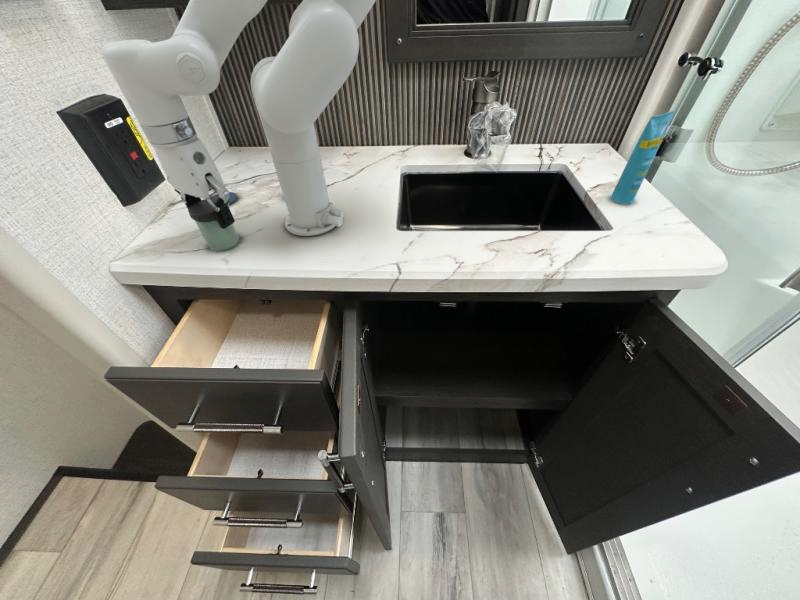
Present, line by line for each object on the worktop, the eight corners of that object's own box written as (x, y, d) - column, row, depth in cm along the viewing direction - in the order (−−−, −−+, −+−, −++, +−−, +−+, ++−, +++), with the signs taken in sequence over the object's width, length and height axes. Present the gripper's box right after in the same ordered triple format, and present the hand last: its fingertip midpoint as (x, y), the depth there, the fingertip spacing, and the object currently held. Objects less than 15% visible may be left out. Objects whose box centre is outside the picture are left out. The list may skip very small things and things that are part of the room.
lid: (200, 204, 70) (197, 198, 69) (232, 204, 70) (230, 197, 69) (184, 222, 65) (181, 215, 64) (219, 221, 65) (215, 214, 64)
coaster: (244, 197, 88) (243, 194, 88) (221, 210, 83) (220, 208, 83) (223, 191, 91) (223, 189, 90) (201, 204, 86) (200, 202, 86)
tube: (622, 208, 78) (665, 119, 64) (603, 200, 81) (641, 113, 67) (639, 199, 80) (685, 111, 67) (620, 191, 83) (660, 106, 70)
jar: (245, 238, 74) (231, 204, 68) (223, 254, 70) (205, 219, 64) (225, 232, 76) (209, 199, 70) (202, 246, 72) (183, 213, 66)
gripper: (222, 130, 56) (258, 221, 68) (158, 119, 62) (201, 204, 75) (184, 145, 51) (230, 240, 64) (119, 132, 57) (171, 221, 70)
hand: (214, 220), depth 69 cm, fingers open, 7 cm apart
